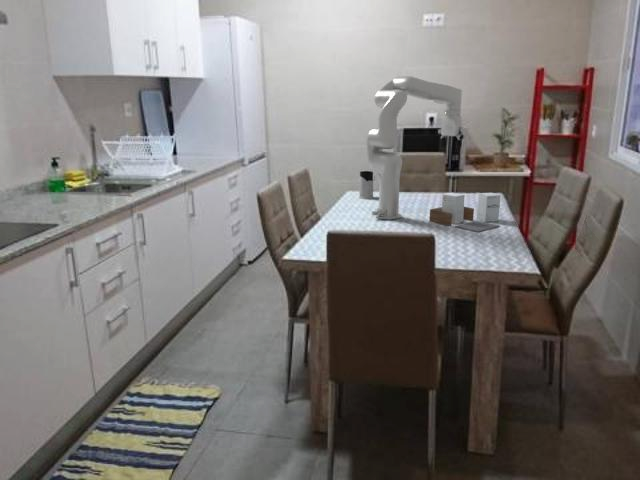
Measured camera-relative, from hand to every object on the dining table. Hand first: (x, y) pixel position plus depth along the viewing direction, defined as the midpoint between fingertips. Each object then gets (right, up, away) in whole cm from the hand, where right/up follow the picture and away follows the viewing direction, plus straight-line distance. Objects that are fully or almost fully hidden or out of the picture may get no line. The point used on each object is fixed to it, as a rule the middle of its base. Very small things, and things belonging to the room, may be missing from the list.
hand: (451, 147), depth 276 cm
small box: (-7, -40, -28) cm, 50 cm away
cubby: (-7, -40, -28) cm, 49 cm away
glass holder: (-39, -24, +33) cm, 57 cm away
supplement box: (+11, -39, -26) cm, 49 cm away
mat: (+2, -43, -39) cm, 58 cm away
